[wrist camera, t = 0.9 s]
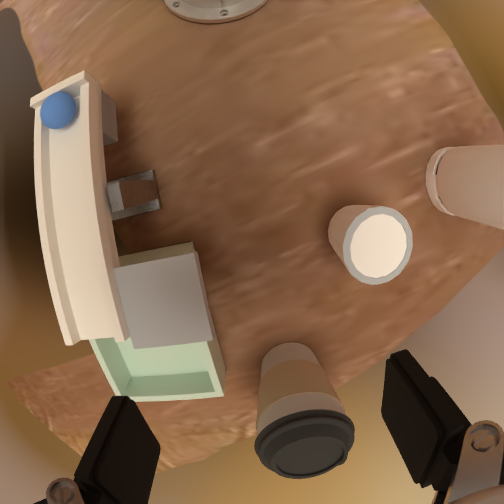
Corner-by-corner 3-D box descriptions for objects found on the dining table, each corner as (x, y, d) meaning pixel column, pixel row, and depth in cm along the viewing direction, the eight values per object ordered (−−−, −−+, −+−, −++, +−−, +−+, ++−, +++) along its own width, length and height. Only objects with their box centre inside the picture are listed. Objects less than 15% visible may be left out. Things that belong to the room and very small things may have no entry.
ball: (55, 109, 18) (35, 95, 15) (83, 96, 18) (64, 79, 15) (52, 139, 18) (30, 127, 15) (81, 127, 18) (60, 111, 15)
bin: (87, 263, 30) (65, 277, 25) (192, 241, 30) (183, 254, 25) (131, 377, 34) (119, 401, 29) (226, 369, 34) (224, 396, 29)
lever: (66, 118, 22) (30, 98, 16) (177, 78, 22) (158, 42, 16) (98, 336, 24) (64, 361, 18) (219, 321, 24) (209, 350, 18)
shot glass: (333, 272, 31) (355, 297, 24) (312, 212, 30) (332, 223, 23) (387, 248, 31) (419, 267, 24) (371, 189, 29) (403, 195, 22)
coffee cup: (252, 394, 35) (256, 490, 21) (250, 336, 33) (254, 436, 18) (321, 389, 35) (350, 479, 21) (328, 331, 33) (372, 422, 19)
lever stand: (87, 189, 28) (35, 198, 19) (154, 169, 28) (115, 168, 19) (95, 224, 29) (45, 244, 20) (162, 208, 29) (127, 222, 20)
